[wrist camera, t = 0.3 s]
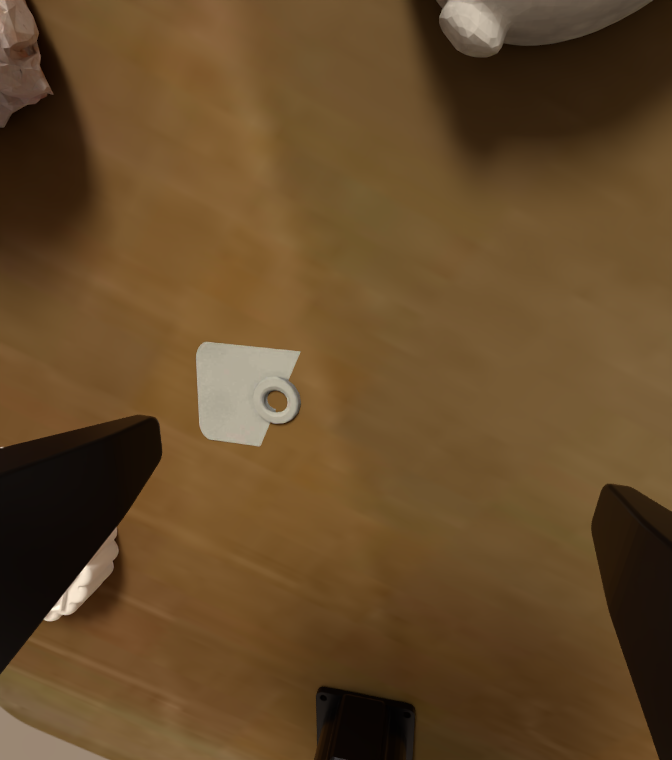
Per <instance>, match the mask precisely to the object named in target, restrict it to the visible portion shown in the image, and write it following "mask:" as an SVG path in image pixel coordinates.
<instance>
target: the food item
mask: <svg viewBox="0 0 672 760" xmlns="http://www.w3.org/2000/svg"><path fill="white" fill-rule="evenodd" d="M38 35H39V32H38V29H37V26H36V23H35V20H34V17H33V15H32V14H31V12H30V11H29V9H28V7H27V5H26V1H25V0H0V128H1V127H5V125H6V123H7V122H8V120H9V118H10V116H11V114H12V113H14V112H15V111H17V110H19V109H21V108H22V107H24V106H26V105H29V104H36V103H37V102H38V101H39V100H40V99H42V98H45V97H47V94H52V95H54V94H53V92H52V90H51V88H50V86H49V84H48V82H47V80H46V78H45V76H44V74H43V72H42V70H41V67H40V60H41V55H40V52H39V48H38V43H37V39H38Z"/></svg>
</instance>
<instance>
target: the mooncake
mask: <svg viewBox="0 0 672 760" xmlns="http://www.w3.org/2000/svg"><path fill="white" fill-rule="evenodd" d="M0 448H3V447H0ZM116 536H117V527H116V528H115V530H114V531H113V532H112V533H111V535H110V536H109V537H108V538H107V540H106V541H105V542H104V543H103V545H102V546H101V547H100V549H99V550H98V551H97V552H96V554H95V555H94V556H93V557H92V559H91V560H90V561H89V562H88V564H87V565H86V566H85V568H84V569H83V570H82V571H81V573H80V574H79V575H78V576H77V578H76V579H75V580H74V582H73V583H72V584H71V585H70V587H69V588H68V589H67V590H66V592H65V593H64V594H63V595H62V597H61V598H60V599H59V601H58V602H57V603H56V604H55V606H54V607H53V608H52V609H51V611H50V612H49V613H48V614H47V616H46V617H45V618H44V620H46V621H55V620H57V619H59V618H60V617H61V616H62V615H70V614H72V613H74V612H75V611H76V610H77V609H78V608H79V607H80V606H81V605H82V604H83V603H84V602H85V601H86V600H87V599H88V598H89V597H90V596H91V595H92V594H93V593H94V592H95V590H96V589H97V588H98V587H99V586H100V585H101V584H102V582H103V581H104V580H105V579H106V578H107V577H108V576H109V575H110V574H111V573H112V572H113V569H114V564H113V560H114V559H115V558H116V557H117V555H118V553H119V549H118V545H117V543H116V542H115V541H114V539H115V538H116Z"/></svg>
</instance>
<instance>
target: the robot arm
mask: <svg viewBox="0 0 672 760" xmlns="http://www.w3.org/2000/svg"><path fill="white" fill-rule="evenodd" d="M161 456H162V443H161V435H160V426H159V422H158V420H157V419H156V418H155V417H152V416H145V415H134V416H130V417H126V418H122V419H118V420H114V421H110V422H106V423H102V424H97V425H93V426H89V427H85V428H81V429H77V430H73V431H69V432H65V433H60V434H56V435H52V436H48V437H44V438H40V439H36V440H32V441H28V442H23V443H19V444H15V445H11V446H7V447H3V448H0V674H1V673H2V672H3V670H4V669H5V668H6V666H7V665H8V664H9V663H10V661H11V660H12V659H13V658H14V656H15V655H16V654H17V652H18V651H19V650H20V649H21V647H22V646H23V645H24V644H25V642H26V641H27V640H28V639H29V637H30V636H31V635H32V633H33V632H34V631H35V630H36V628H37V627H38V626H39V625H40V623H41V622H42V621H43V620H44V618H45V617H46V616H47V614H48V613H49V612H50V611H51V609H52V608H53V607H54V606H55V604H56V603H57V602H58V601H59V599H60V598H61V597H62V595H63V594H64V593H65V592H66V590H67V589H68V588H69V587H70V585H71V584H72V583H73V582H74V580H75V579H76V578H77V576H78V575H79V574H80V573H81V571H82V570H83V569H84V568H85V566H86V565H87V564H88V562H89V561H90V560H91V559H92V557H93V556H94V555H95V554H96V552H97V551H98V550H99V549H100V547H101V546H102V545H103V543H104V542H105V541H106V540H107V538H108V537H109V536H110V535H111V533H112V532H113V531H114V530H115V528H116V527H117V526H118V524H119V523H120V522H121V520H122V519H123V518H124V516H125V515H126V513H127V512H128V510H129V509H130V508H131V506H132V504H133V503H134V501H135V500H136V498H137V497H138V495H139V493H140V492H141V490H142V489H143V487H144V486H145V484H146V482H147V481H148V479H149V478H150V476H151V475H152V473H153V471H154V470H155V468H156V467H157V465H158V464H159V462H160V460H161ZM591 530H592V537H593V541H594V546H595V551H596V555H597V560H598V565H599V569H600V574H601V579H602V583H603V588H604V593H605V597H606V601H607V605H608V609H609V613H610V616H611V619H612V622H613V625H614V628H615V631H616V634H617V637H618V640H619V643H620V646H621V649H622V652H623V654H624V657H625V660H626V663H627V666H628V669H629V672H630V675H631V678H632V681H633V684H634V687H635V689H636V692H637V695H638V698H639V701H640V704H641V707H642V710H643V713H644V716H645V719H646V722H647V724H648V727H649V730H650V733H651V736H652V739H653V742H654V745H655V748H656V751H657V754H658V757H659V759H660V760H672V512H671V511H670V510H668V509H666V508H665V507H663V506H661V505H660V504H658V503H657V502H655V501H653V500H652V499H650V498H648V497H647V496H645V495H643V494H642V493H640V492H639V491H637V490H635V489H634V488H632V487H629V486H623V485H616V484H606V485H605V486H604V487H603V488H602V490H601V493H600V496H599V499H598V503H597V506H596V509H595V513H594V516H593V519H592V525H591ZM316 713H317V750H316V754H315V758H314V760H412V756H413V739H414V723H415V708H414V707H413V706H412V705H411V704H408V703H404V702H399V701H394V700H389V699H384V698H379V697H374V696H369V695H363V694H358V693H353V692H348V691H343V690H338V689H333V688H328V687H320V688H319V689H318V691H317V695H316Z"/></svg>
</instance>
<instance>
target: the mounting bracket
mask: <svg viewBox="0 0 672 760" xmlns="http://www.w3.org/2000/svg"><path fill="white" fill-rule="evenodd" d="M299 354H300V351H290V350H280V349H271V348H261V347H252V346H242V345H232V344H223V343H213V342H204V343H203V344H201V345H200V347H199V348H198V350H197V354H196V365H197V385H198V406H199V424H200V429H201V431H202V433H203V434H204V435H205V436H206V437H207V438H208V439H210V440H218V441H225V442H232V443H240V444H247V445H254V446H260V445H261V443H262V441H263V438H264V436H265V433H266V431H267V429H268V426H269V424H270V422H272V423H275V424H277V423H286V422H288V421H290V420H292V419H294V417H295V416H296V415H297V414H298V412H299V409H300V405H301V401H300V395H299V392H298V391H297V389H296V387H295V386H294V385H293V384H292V383H291V382H289V381H288V380H289V377H290V375H291V373H292V370H293V368H294V366H295V363H296V361H297V359H298V356H299ZM275 390H277V391H280V392H282V393H284V394H285V396H286V397H287V401H288V405H287V408H286V409H285V410H284V411H282V412H275V410H276V409H273V408H272V407H270V405H269V404H268V401H267V396H268V394H269V393H270V392H271V391H275Z"/></svg>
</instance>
